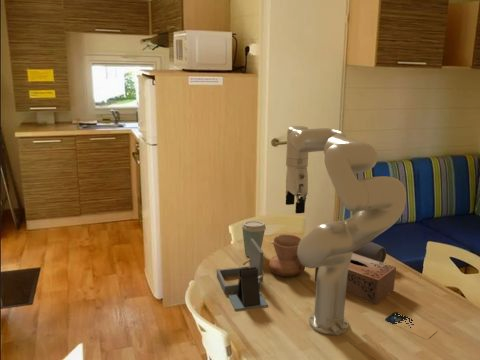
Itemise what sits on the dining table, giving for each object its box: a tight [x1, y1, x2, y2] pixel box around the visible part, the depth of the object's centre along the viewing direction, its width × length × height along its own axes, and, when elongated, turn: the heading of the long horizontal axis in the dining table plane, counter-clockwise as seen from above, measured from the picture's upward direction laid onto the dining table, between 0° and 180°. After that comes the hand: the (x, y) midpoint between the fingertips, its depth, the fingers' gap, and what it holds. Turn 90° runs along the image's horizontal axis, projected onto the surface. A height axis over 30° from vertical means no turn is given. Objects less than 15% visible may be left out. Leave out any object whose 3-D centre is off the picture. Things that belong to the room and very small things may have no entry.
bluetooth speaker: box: [353, 241, 387, 263], centre depth 196 cm, size 23×9×10 cm, turn 42°
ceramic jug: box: [268, 233, 306, 278], centre depth 183 cm, size 18×14×14 cm
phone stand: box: [236, 267, 260, 307], centre depth 160 cm, size 9×6×12 cm, turn 18°
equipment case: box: [216, 238, 265, 295], centre depth 173 cm, size 16×15×15 cm
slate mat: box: [227, 290, 269, 312], centre depth 162 cm, size 10×12×1 cm
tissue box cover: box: [314, 253, 397, 306], centre depth 173 cm, size 26×14×10 cm, turn 47°
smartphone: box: [384, 311, 414, 328], centre depth 149 cm, size 8×1×15 cm
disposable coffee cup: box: [241, 220, 267, 258], centre depth 199 cm, size 11×11×15 cm
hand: (294, 208), depth 162 cm, fingers open, 9 cm apart
